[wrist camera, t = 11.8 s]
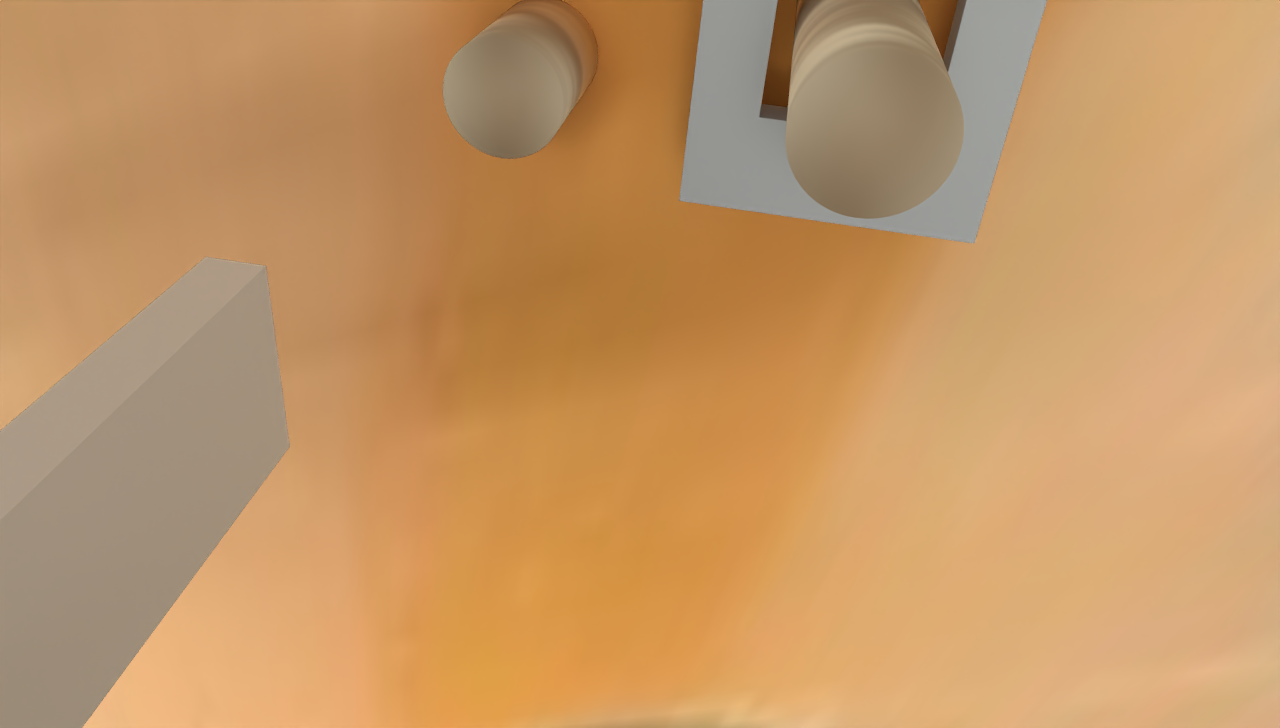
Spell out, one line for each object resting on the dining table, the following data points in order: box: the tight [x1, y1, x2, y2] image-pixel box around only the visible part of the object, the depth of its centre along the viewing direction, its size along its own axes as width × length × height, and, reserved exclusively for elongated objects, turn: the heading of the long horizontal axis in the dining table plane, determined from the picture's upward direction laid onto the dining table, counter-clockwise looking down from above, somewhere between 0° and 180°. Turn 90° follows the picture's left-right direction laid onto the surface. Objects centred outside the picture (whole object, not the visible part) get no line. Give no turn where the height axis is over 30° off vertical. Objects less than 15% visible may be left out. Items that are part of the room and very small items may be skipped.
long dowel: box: [785, 0, 964, 219], centre depth 29 cm, size 4×4×14 cm
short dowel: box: [443, 0, 598, 159], centre depth 34 cm, size 4×4×6 cm
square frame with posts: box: [679, 0, 1047, 243], centre depth 32 cm, size 10×12×5 cm
